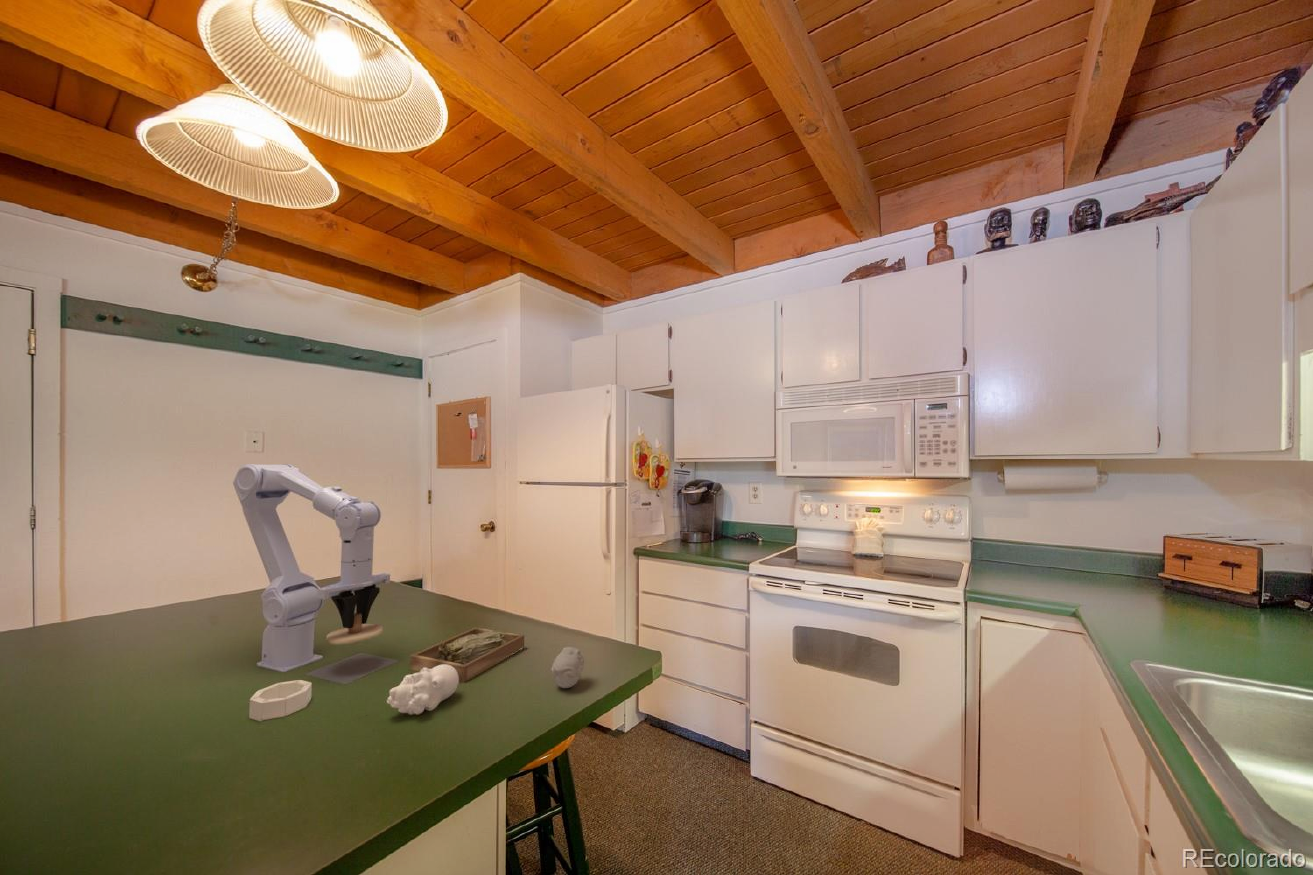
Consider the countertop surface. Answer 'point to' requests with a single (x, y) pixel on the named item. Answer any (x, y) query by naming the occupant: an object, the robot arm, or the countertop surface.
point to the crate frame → (474, 667)
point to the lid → (354, 632)
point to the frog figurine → (567, 667)
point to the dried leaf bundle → (470, 647)
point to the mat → (352, 668)
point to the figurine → (424, 689)
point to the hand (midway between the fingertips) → (354, 625)
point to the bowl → (280, 700)
